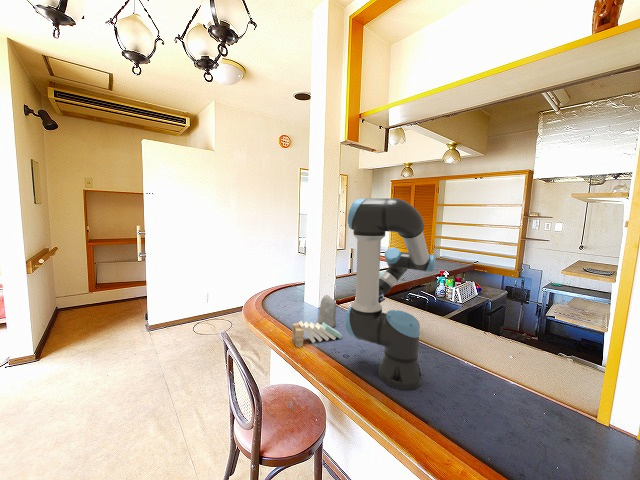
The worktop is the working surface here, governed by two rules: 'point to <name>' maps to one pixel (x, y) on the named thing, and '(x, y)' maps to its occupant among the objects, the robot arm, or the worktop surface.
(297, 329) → the end block
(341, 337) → the domino
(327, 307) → the decorative stone
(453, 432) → the worktop surface
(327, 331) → the domino
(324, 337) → the domino
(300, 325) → the domino
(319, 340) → the domino
